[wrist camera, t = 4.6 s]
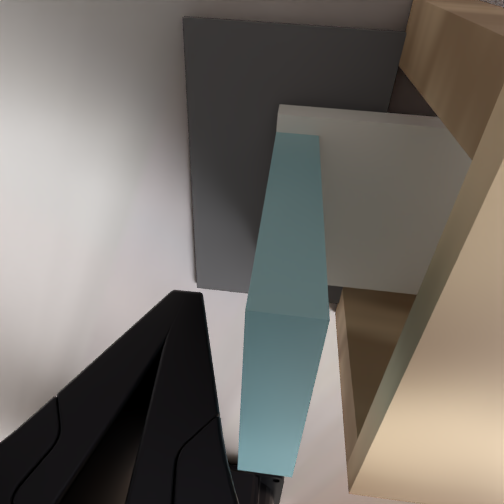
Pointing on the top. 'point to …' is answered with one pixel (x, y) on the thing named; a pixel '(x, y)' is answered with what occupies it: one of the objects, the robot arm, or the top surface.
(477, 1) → the tunnel
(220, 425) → the robot arm
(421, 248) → the sled
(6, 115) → the top surface
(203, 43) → the pad
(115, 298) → the top surface
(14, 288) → the top surface
